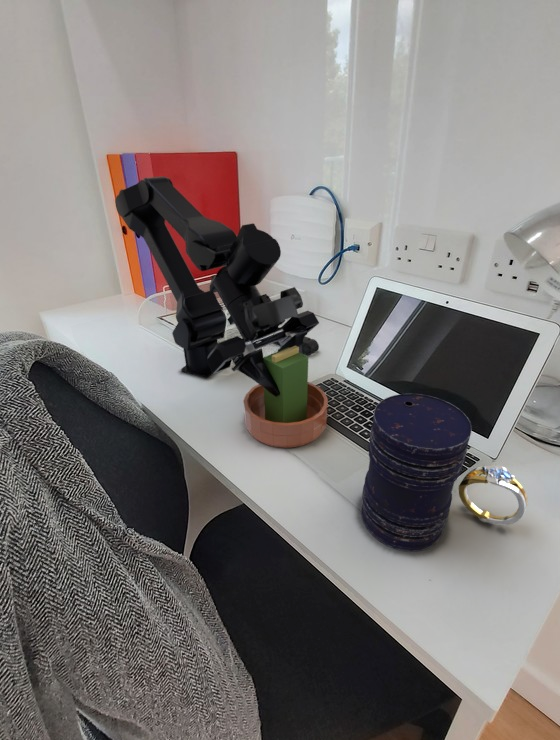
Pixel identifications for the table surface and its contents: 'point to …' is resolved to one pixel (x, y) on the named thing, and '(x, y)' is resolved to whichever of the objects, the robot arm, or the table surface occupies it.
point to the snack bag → (287, 386)
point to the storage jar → (413, 469)
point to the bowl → (286, 432)
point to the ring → (496, 477)
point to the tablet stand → (307, 346)
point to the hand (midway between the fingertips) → (291, 388)
